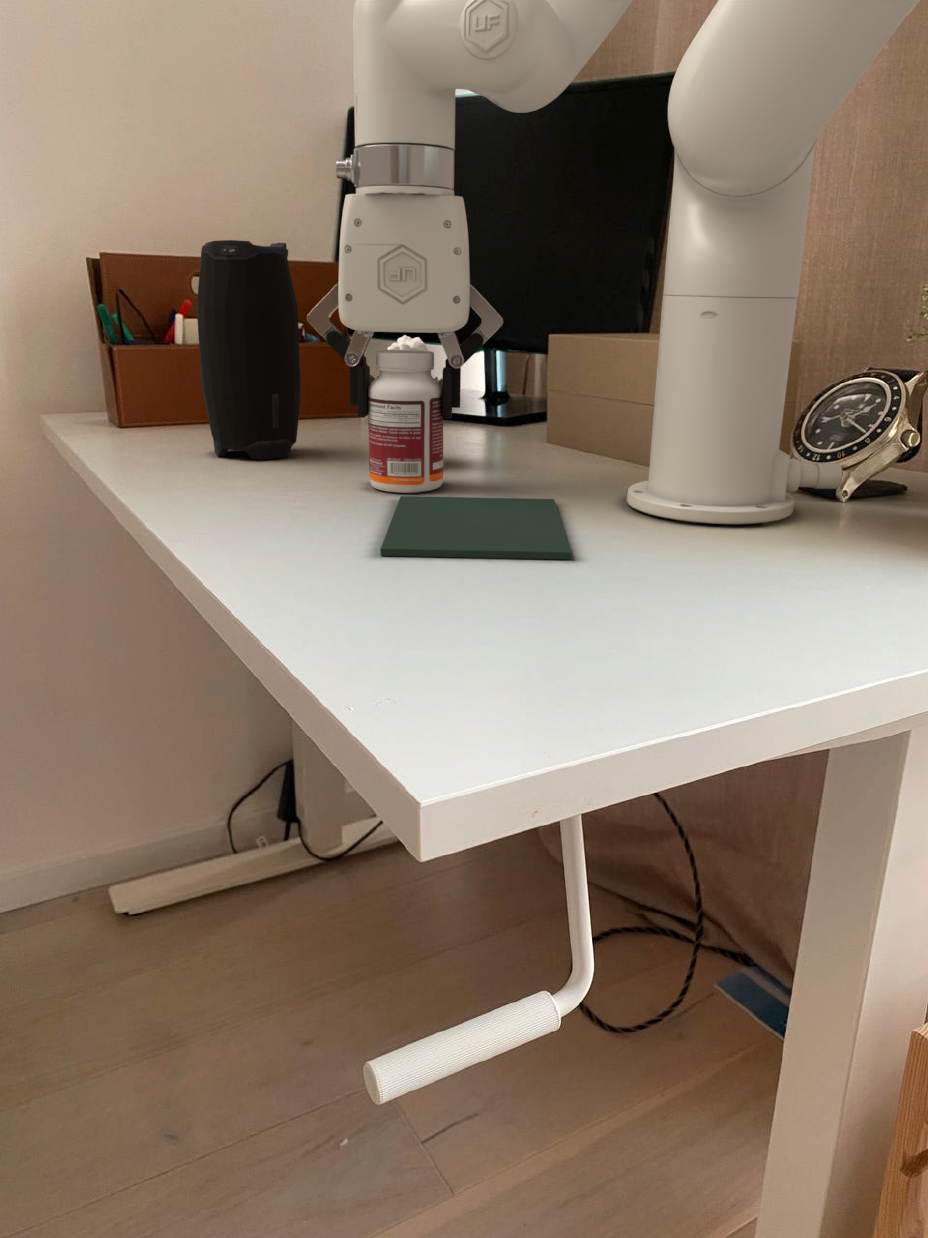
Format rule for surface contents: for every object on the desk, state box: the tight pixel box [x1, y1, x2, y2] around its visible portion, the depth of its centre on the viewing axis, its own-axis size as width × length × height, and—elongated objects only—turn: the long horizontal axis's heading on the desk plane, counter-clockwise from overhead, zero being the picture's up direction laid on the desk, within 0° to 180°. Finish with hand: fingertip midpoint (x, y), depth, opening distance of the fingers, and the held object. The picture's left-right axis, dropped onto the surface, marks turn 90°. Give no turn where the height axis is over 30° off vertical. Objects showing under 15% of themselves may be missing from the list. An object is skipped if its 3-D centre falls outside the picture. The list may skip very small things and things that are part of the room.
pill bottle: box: [367, 349, 444, 494], centre depth 81 cm, size 6×6×11 cm
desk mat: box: [379, 495, 573, 560], centre depth 69 cm, size 12×16×1 cm
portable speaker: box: [196, 239, 301, 461], centre depth 94 cm, size 9×9×20 cm
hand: (405, 414), depth 81 cm, fingers closed on pill bottle, 6 cm apart
